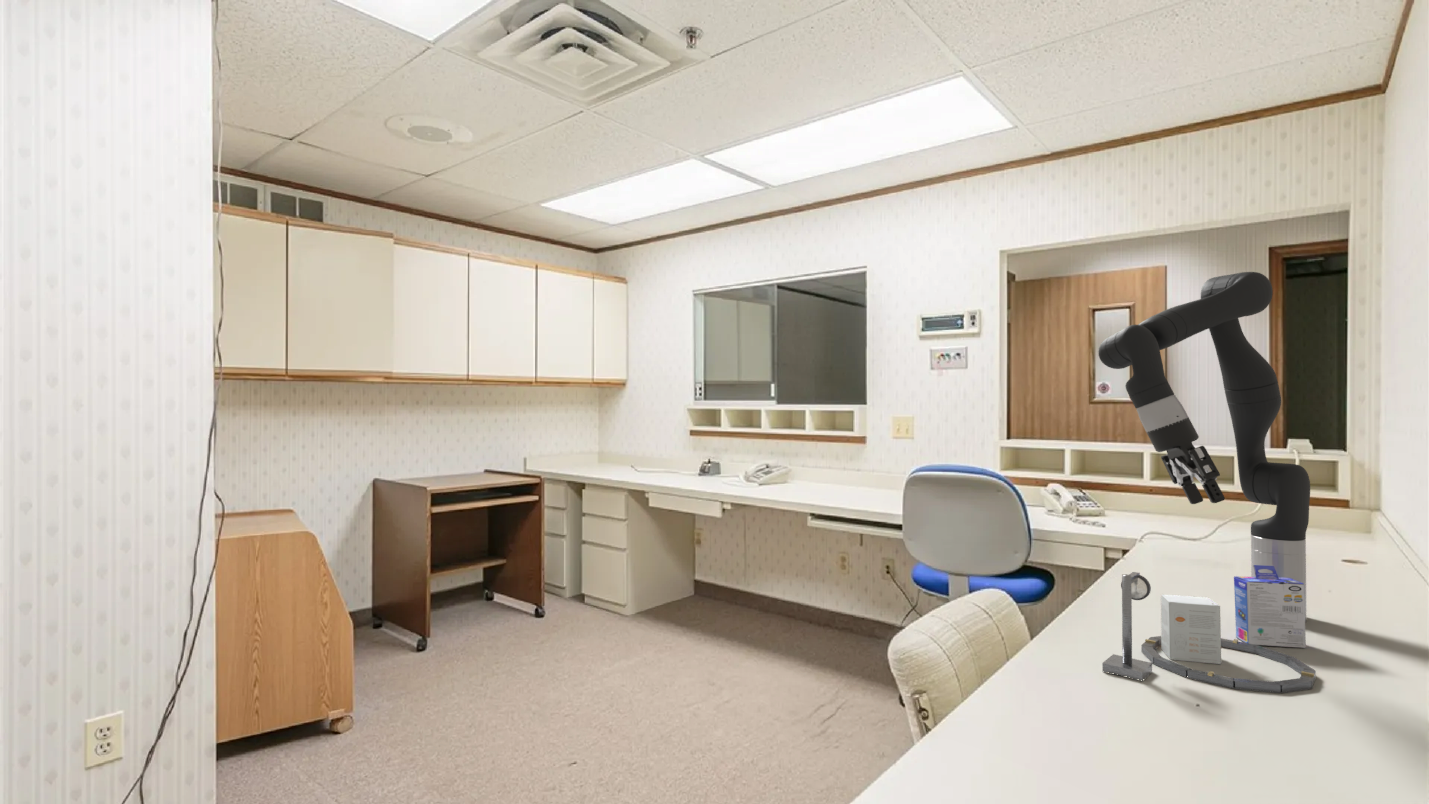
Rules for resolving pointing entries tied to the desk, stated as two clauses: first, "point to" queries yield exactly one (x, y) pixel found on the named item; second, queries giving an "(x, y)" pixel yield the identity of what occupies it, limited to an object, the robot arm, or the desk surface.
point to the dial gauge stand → (1129, 630)
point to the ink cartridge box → (1270, 609)
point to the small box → (1191, 628)
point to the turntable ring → (1244, 684)
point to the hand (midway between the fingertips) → (1207, 502)
